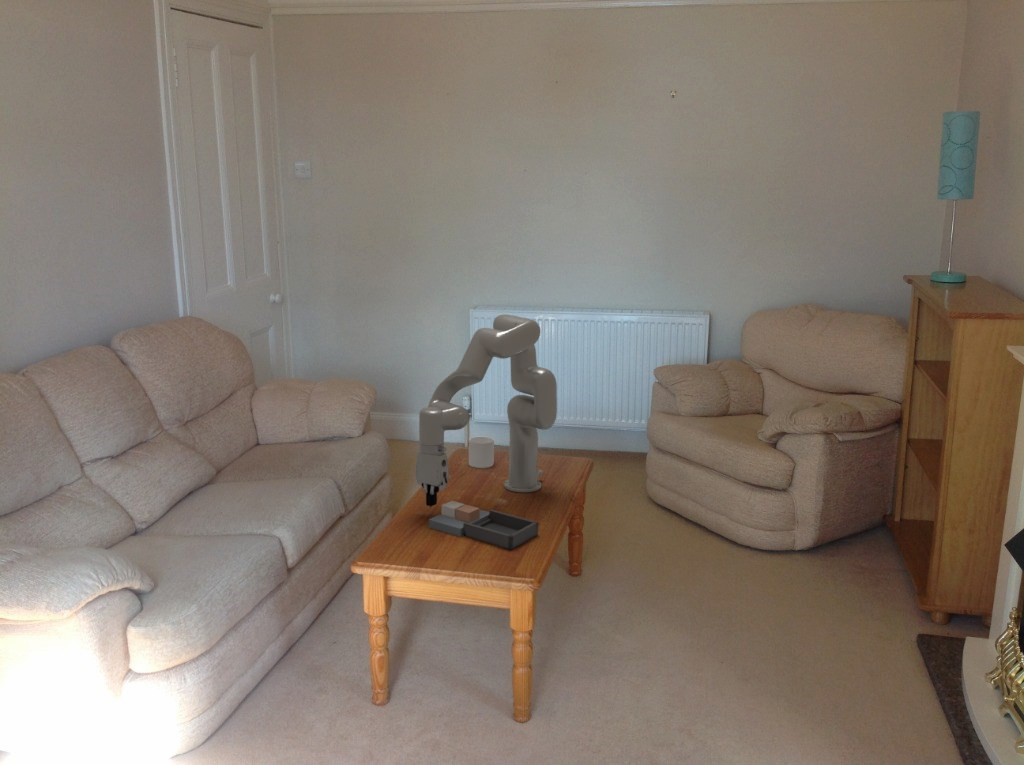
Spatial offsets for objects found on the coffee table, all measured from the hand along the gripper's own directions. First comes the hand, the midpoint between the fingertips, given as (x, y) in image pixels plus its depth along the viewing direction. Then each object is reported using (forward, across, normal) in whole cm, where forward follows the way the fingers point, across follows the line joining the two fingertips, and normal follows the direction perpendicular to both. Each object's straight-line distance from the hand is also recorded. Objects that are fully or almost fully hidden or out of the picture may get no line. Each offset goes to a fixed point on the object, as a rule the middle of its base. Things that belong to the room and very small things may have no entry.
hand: (431, 504), depth 297 cm
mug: (+4, +19, -52) cm, 55 cm away
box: (+4, -26, 0) cm, 26 cm away
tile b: (+1, -14, 0) cm, 14 cm away
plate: (+4, -11, 0) cm, 12 cm away
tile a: (+1, -8, 0) cm, 8 cm away
